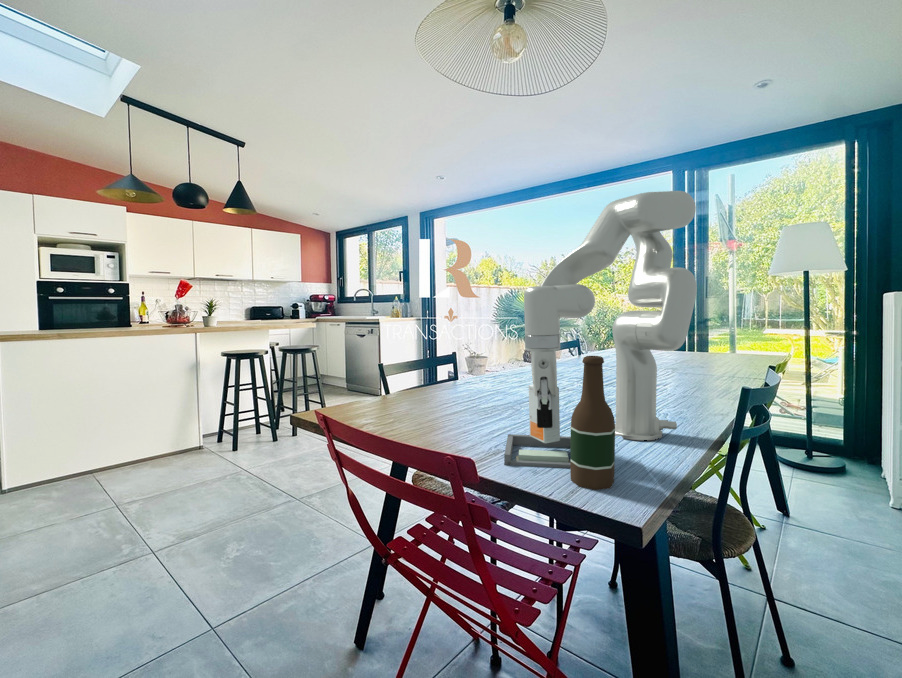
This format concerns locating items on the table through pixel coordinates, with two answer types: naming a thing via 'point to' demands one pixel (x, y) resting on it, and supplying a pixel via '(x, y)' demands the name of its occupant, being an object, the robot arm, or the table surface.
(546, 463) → the grey tray
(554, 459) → the upper offcut
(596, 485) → the beer bottle
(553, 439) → the skincare box
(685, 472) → the table surface
